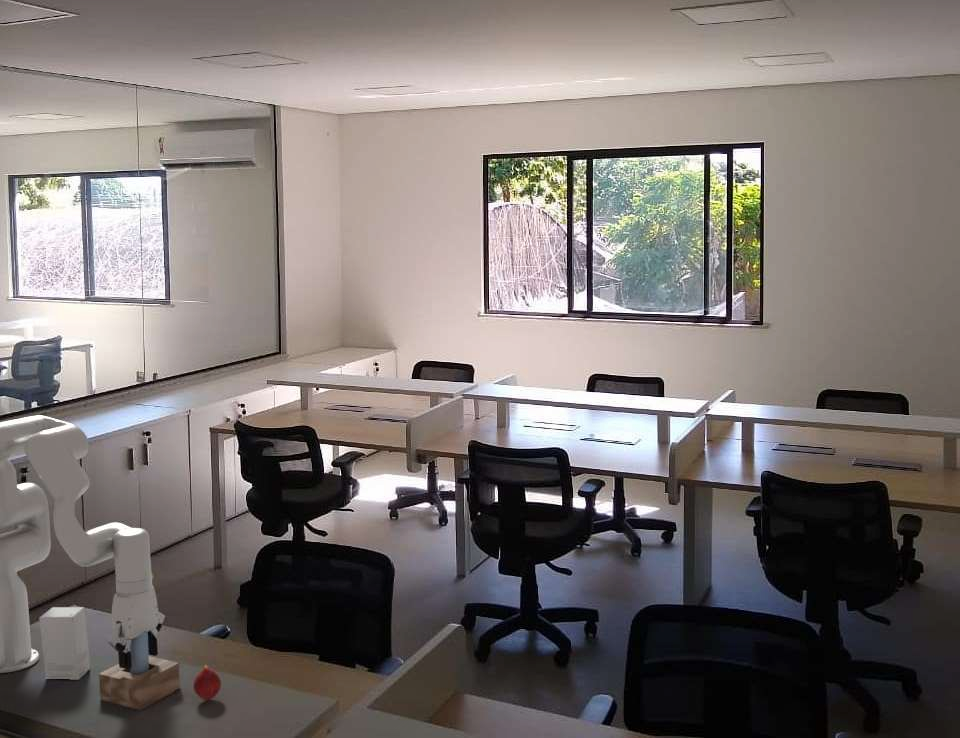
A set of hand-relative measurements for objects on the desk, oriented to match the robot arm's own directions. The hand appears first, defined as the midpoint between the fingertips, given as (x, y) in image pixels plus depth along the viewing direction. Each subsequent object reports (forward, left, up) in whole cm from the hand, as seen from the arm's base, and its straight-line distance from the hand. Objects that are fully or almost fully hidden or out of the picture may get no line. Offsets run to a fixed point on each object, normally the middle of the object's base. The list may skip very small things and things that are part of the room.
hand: (138, 660), depth 232 cm
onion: (+16, +4, -8) cm, 18 cm away
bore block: (0, 0, -8) cm, 8 cm away
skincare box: (-23, 0, -8) cm, 24 cm away
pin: (0, 0, -7) cm, 7 cm away
